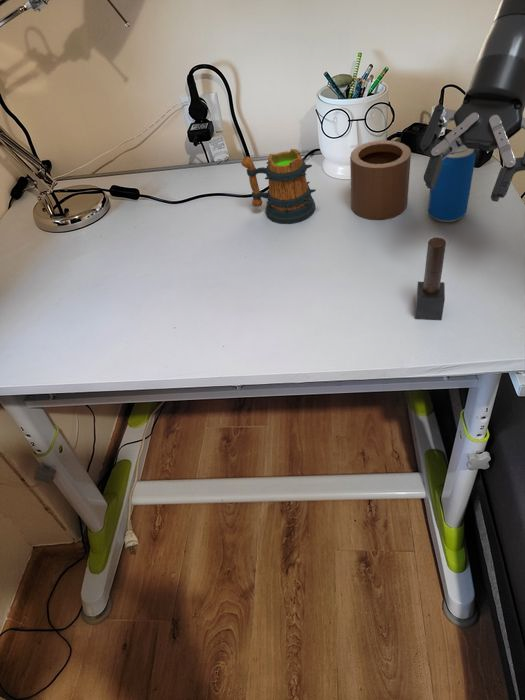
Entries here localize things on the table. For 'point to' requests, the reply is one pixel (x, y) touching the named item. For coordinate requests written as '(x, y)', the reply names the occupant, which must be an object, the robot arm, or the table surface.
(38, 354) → the table surface
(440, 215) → the beverage can
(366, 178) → the brown pencil cup
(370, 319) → the table surface
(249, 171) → the mug
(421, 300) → the cylinder on square base
